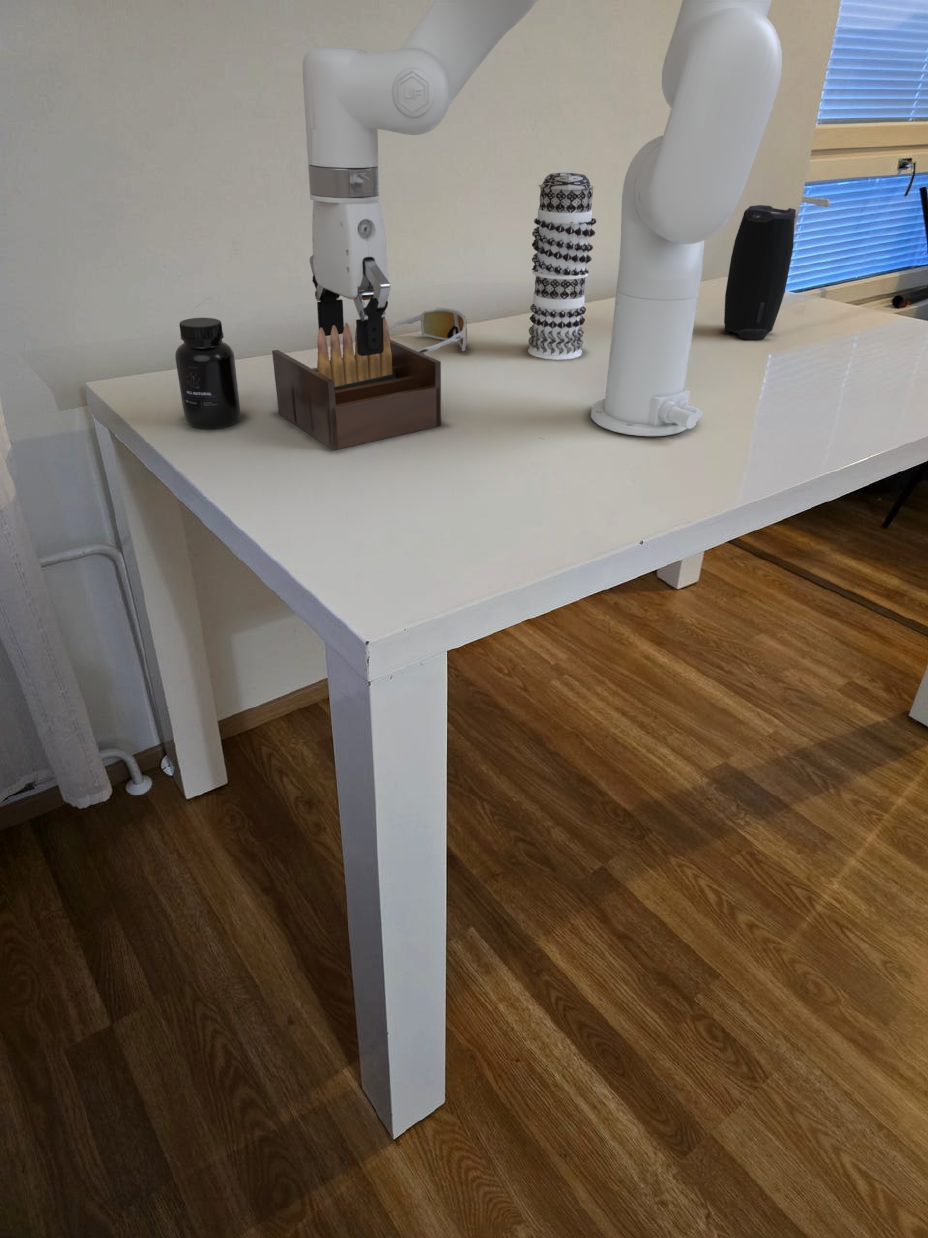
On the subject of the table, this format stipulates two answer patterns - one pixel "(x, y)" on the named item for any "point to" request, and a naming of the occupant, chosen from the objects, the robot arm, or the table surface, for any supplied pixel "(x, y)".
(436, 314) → the sunglasses
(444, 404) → the table surface
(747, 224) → the portable speaker
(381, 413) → the rack
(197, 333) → the supplement bottle
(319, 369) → the ammunition clip
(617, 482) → the table surface
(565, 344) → the decorative candle
